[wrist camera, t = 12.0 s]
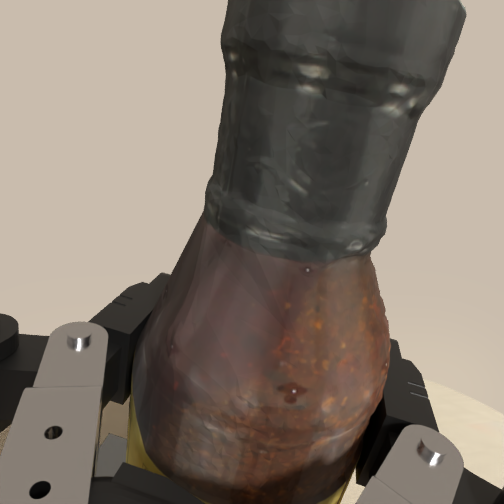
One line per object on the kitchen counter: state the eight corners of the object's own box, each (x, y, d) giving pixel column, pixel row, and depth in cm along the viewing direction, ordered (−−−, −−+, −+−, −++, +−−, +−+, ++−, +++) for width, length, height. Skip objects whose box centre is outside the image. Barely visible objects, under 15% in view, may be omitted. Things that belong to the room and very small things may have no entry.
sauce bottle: (204, 491, 19) (313, 29, 11) (310, 608, 15) (567, 53, 8) (68, 604, 14) (103, -74, 7) (179, 813, 10) (523, -127, 3)
